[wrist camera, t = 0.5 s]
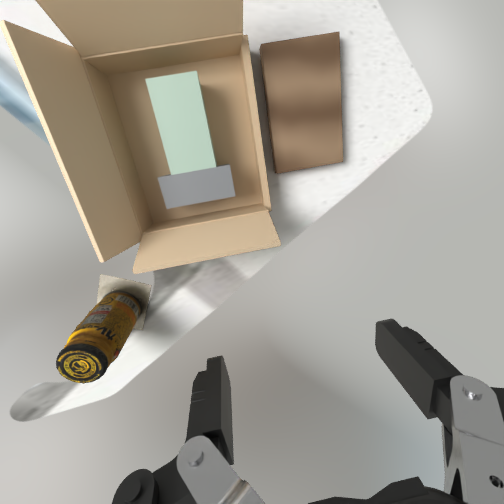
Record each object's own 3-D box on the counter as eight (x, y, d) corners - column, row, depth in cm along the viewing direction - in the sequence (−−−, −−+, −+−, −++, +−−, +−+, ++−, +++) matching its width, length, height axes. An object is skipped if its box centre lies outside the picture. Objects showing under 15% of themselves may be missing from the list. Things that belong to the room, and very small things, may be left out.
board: (259, 49, 29) (261, 43, 28) (333, 37, 30) (339, 31, 28) (274, 173, 34) (277, 173, 33) (338, 161, 35) (343, 161, 33)
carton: (76, 53, 28) (-19, -15, 17) (241, 28, 28) (253, -53, 17) (142, 242, 36) (106, 280, 25) (269, 218, 36) (288, 244, 26)
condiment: (94, 321, 39) (43, 385, 28) (100, 273, 37) (47, 323, 26) (143, 329, 41) (113, 394, 30) (152, 284, 38) (122, 336, 27)
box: (144, 93, 29) (129, 81, 24) (213, 82, 29) (211, 68, 24) (174, 201, 33) (166, 208, 29) (233, 191, 34) (235, 196, 29)
